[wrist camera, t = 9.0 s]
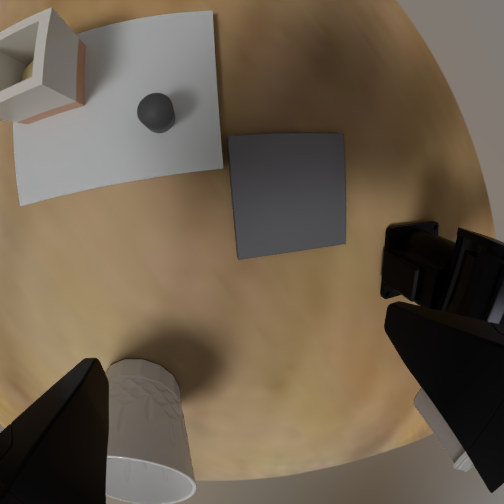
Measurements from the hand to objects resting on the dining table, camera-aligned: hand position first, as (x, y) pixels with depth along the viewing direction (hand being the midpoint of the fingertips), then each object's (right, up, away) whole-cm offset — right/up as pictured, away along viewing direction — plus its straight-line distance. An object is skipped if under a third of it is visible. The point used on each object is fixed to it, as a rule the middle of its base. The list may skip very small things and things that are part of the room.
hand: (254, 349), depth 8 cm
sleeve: (-12, +13, +5) cm, 19 cm away
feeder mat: (+3, +7, +11) cm, 13 cm away
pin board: (-9, +12, +7) cm, 17 cm away
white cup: (-10, -9, +14) cm, 19 cm away
